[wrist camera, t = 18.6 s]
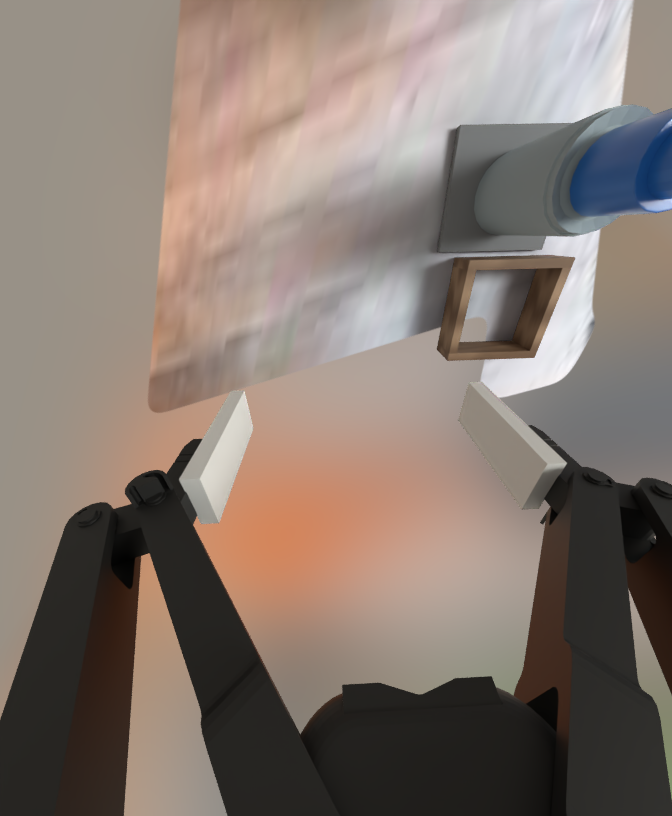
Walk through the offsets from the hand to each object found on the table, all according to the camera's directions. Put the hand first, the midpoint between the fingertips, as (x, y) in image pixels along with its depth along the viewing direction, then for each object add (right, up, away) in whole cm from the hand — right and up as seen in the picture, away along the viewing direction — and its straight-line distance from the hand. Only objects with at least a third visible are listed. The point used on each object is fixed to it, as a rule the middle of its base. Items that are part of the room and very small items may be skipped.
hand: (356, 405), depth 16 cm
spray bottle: (+22, +28, +19) cm, 40 cm away
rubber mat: (+21, +29, +20) cm, 41 cm away
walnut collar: (+24, +17, +28) cm, 40 cm away
